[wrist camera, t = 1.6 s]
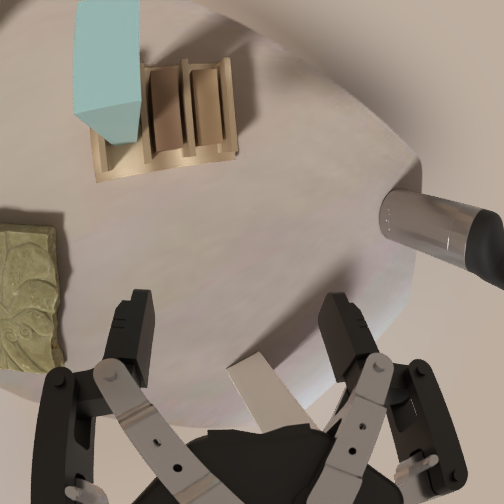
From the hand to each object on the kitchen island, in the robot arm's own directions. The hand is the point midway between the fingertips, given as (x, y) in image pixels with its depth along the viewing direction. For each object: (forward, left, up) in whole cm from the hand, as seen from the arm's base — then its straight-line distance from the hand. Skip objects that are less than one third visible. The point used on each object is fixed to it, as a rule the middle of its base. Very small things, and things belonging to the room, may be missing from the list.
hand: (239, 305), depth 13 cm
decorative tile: (+25, +6, -23) cm, 35 cm away
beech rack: (0, -11, -23) cm, 25 cm away
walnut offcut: (0, -11, -22) cm, 25 cm away
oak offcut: (-4, -11, -22) cm, 25 cm away
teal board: (+4, -11, -22) cm, 25 cm away
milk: (-7, +27, -23) cm, 36 cm away
